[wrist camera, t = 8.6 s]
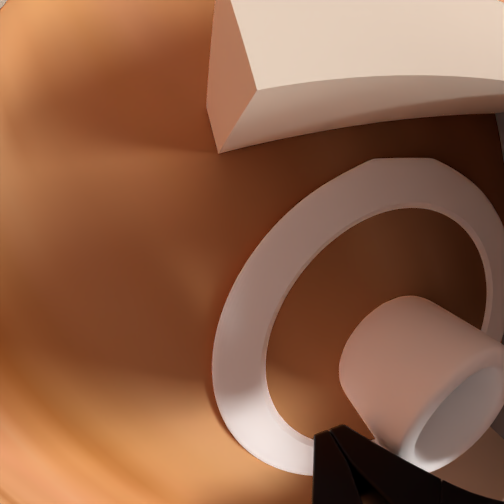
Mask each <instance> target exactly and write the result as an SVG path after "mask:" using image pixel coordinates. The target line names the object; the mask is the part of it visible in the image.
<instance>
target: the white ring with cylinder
mask: <svg viewBox="0 0 504 504" xmlns="http://www.w3.org/2000/svg"><path fill="white" fill-rule="evenodd" d="M402 208H423V209H429V210H433V211H436V212H439V213H441V214H444V215H446V216H448V217H449V218H451V219H453V220H454V221H455V222H457V223H458V224H459V225H460V226H461V227H462V228H463V229H464V230H465V231H466V232H467V233H468V234H469V236H470V237H471V238H472V240H473V242H474V243H475V245H476V247H477V249H478V251H479V253H480V256H481V259H482V262H483V266H484V270H485V276H486V286H487V298H486V309H485V315H484V320H483V325H482V328H481V330H479V329H477V328H476V327H474V326H472V325H471V324H469V323H467V322H466V321H464V320H462V319H461V318H459V317H457V316H456V315H454V314H452V313H450V312H449V311H447V310H445V309H444V308H442V307H440V306H439V305H437V304H435V303H433V302H432V301H430V300H428V299H425V298H423V297H419V296H401V297H397V298H394V299H392V300H389V301H387V302H385V303H383V304H381V305H380V306H378V307H377V308H376V309H374V310H373V311H372V312H371V313H369V314H368V315H367V316H366V317H365V318H364V319H363V320H362V321H361V322H360V323H359V324H358V326H357V327H356V328H355V330H354V331H353V333H352V334H351V335H350V337H349V339H348V340H347V342H346V344H345V347H344V349H343V352H342V355H341V358H340V362H339V379H340V383H341V386H342V388H343V391H344V392H345V394H346V396H347V397H348V399H349V400H350V402H351V403H352V405H353V406H354V408H355V409H356V411H357V412H358V414H359V415H360V417H361V418H362V420H363V421H364V422H365V424H366V425H367V427H368V428H369V430H370V431H371V433H372V434H373V436H374V437H375V439H374V440H371V441H373V442H374V443H376V444H378V445H379V446H381V447H383V448H385V449H386V450H388V451H390V452H392V453H393V454H395V455H397V456H399V457H401V458H402V459H404V460H406V461H408V462H410V463H412V464H414V465H415V466H417V467H419V468H421V469H423V470H425V471H427V472H432V471H435V470H437V469H439V468H441V467H443V466H445V465H447V464H449V463H450V462H452V461H453V460H455V459H456V458H458V457H459V456H460V455H462V454H463V453H464V452H465V451H467V450H468V449H469V448H470V447H471V446H472V445H473V444H474V443H475V442H476V441H477V440H478V439H479V438H480V437H481V436H482V435H483V434H484V433H485V432H486V430H487V429H488V428H489V427H490V425H491V424H492V423H493V421H494V420H495V418H496V417H497V415H498V414H499V412H500V410H501V409H502V407H503V405H504V345H503V344H501V343H500V342H501V339H502V337H503V334H504V227H503V225H502V222H501V220H500V218H499V216H498V214H497V212H496V210H495V209H494V207H493V205H492V204H491V202H490V201H489V200H488V198H487V197H486V196H485V194H484V193H483V192H482V191H481V190H480V189H479V188H478V187H477V186H476V185H475V184H474V183H473V182H471V181H470V180H469V179H468V178H466V177H465V176H464V175H462V174H461V173H459V172H458V171H456V170H454V169H453V168H451V167H449V166H447V165H445V164H444V163H442V162H440V161H438V160H436V159H433V158H377V159H372V160H369V161H367V162H365V163H363V164H360V165H358V166H356V167H354V168H352V169H350V170H348V171H347V172H345V173H343V174H341V175H339V176H337V177H336V178H334V179H332V180H331V181H329V182H327V183H326V184H324V185H322V186H321V187H319V188H318V189H316V190H315V191H314V192H312V193H311V194H309V195H308V196H307V197H305V198H304V199H303V200H302V201H300V202H299V203H298V204H297V205H295V206H294V207H293V208H292V209H291V210H290V211H289V212H288V213H287V214H286V215H284V216H283V217H282V218H281V219H280V220H279V221H278V222H277V224H276V225H275V226H274V227H273V228H272V229H271V230H270V231H269V232H268V233H267V235H266V236H265V237H264V238H263V240H262V241H261V242H260V243H259V245H258V246H257V247H256V249H255V250H254V251H253V253H252V254H251V256H250V257H249V259H248V260H247V262H246V263H245V265H244V266H243V268H242V270H241V272H240V273H239V275H238V277H237V279H236V281H235V283H234V284H233V286H232V288H231V291H230V293H229V295H228V297H227V300H226V302H225V305H224V307H223V310H222V313H221V316H220V319H219V323H218V326H217V331H216V335H215V340H214V346H213V355H212V380H213V388H214V394H215V398H216V402H217V405H218V408H219V411H220V413H221V416H222V418H223V420H224V422H225V424H226V426H227V427H228V429H229V431H230V432H231V433H232V435H233V436H234V437H235V439H236V440H237V441H238V442H239V443H240V444H241V445H242V446H243V447H244V448H245V449H246V450H247V451H248V452H250V453H251V454H252V455H254V456H255V457H256V458H258V459H260V460H261V461H263V462H265V463H267V464H269V465H271V466H273V467H275V468H278V469H281V470H284V471H287V472H291V473H296V474H301V475H309V476H313V449H314V440H313V439H311V438H308V437H306V436H304V435H302V434H300V433H299V432H297V431H296V430H294V429H293V428H292V427H290V426H289V425H288V424H287V423H286V422H285V421H284V420H283V418H282V417H281V416H280V415H279V413H278V412H277V410H276V408H275V406H274V404H273V402H272V400H271V397H270V394H269V391H268V386H267V380H266V354H267V347H268V342H269V338H270V334H271V330H272V327H273V324H274V322H275V319H276V316H277V314H278V312H279V310H280V307H281V305H282V303H283V301H284V299H285V298H286V296H287V294H288V292H289V291H290V289H291V287H292V286H293V284H294V283H295V281H296V280H297V279H298V277H299V276H300V274H301V273H302V272H303V271H304V269H305V268H306V267H307V266H308V264H309V263H310V262H311V261H312V260H313V259H314V258H315V257H316V256H317V255H318V254H319V253H320V252H321V251H322V250H323V249H324V248H325V247H326V246H327V245H328V244H329V243H331V242H332V241H333V240H334V239H335V238H337V237H338V236H339V235H341V234H342V233H343V232H345V231H346V230H348V229H349V228H351V227H353V226H354V225H356V224H358V223H360V222H361V221H363V220H365V219H368V218H370V217H372V216H375V215H377V214H380V213H383V212H387V211H391V210H395V209H402Z"/></svg>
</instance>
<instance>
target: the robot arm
mask: <svg viewBox="0 0 504 504" xmlns="http://www.w3.org/2000/svg"><path fill="white" fill-rule="evenodd" d="M311 504H504V501H500V500H496V499H492V498H488V497H485V496H482V495H478V494H475V493H472V492H469V491H467V490H465V489H462V488H460V487H458V486H455V485H453V484H451V483H449V482H447V481H445V480H442V481H441V478H439V477H437V476H435V475H433V474H431V473H429V472H427V471H425V470H423V469H421V468H419V467H417V466H415V465H414V464H412V463H410V462H408V461H406V460H404V459H402V458H401V457H399V456H397V455H395V454H393V453H392V452H390V451H388V450H386V449H385V448H383V447H381V446H379V445H378V444H376V443H374V442H373V441H371V440H369V439H367V438H366V437H364V436H362V435H361V434H359V433H357V432H356V431H354V430H352V429H351V428H349V427H348V426H346V425H343V424H342V425H339V426H336V427H334V428H331V429H330V430H329V431H328V430H326V431H323V432H320V433H317V434H315V435H314V449H313V481H312V503H311Z"/></svg>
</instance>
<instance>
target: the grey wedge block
mask: <svg viewBox="0 0 504 504" xmlns="http://www.w3.org/2000/svg"><path fill="white" fill-rule="evenodd" d="M206 108H207V112H208V116H209V120H210V124H211V128H212V132H213V135H214V139H215V143H216V147H217V151H218V154H219V153H223V152H227V151H231V150H235V149H239V148H243V147H248V146H252V145H256V144H261V143H265V142H270V141H274V140H279V139H284V138H289V137H294V136H299V135H304V134H309V133H315V132H320V131H326V130H332V129H338V128H344V127H350V126H357V125H364V124H371V123H378V122H386V121H394V120H403V119H413V118H423V117H434V116H448V115H464V114H488V113H495V116H496V121H497V126H498V131H499V136H500V142H501V148H502V154H503V161H504V3H503V2H500V1H498V0H215V7H214V16H213V26H212V37H211V48H210V60H209V72H208V86H207V101H206ZM501 344H503V345H504V334H503V337H502V341H501ZM429 473H431V474H433V475H435V476H437V477H439V478H441V481H442V480H445V481H447V482H449V483H451V484H453V485H455V486H458V487H460V488H462V489H465V490H467V491H469V492H472V493H475V494H478V495H482V496H485V497H488V498H492V499H496V500H500V501H504V405H503V407H502V409H501V410H500V412H499V414H498V415H497V417H496V418H495V420H494V421H493V423H492V424H491V425H490V427H489V428H488V429H487V430H486V432H485V433H484V434H483V435H482V436H481V437H480V438H479V439H478V440H477V441H476V442H475V443H474V444H473V445H472V446H471V447H470V448H469V449H468V450H467V451H465V452H464V453H463V454H462V455H460V456H459V457H458V458H456V459H455V460H453V461H452V462H450V463H449V464H447V465H445V466H443V467H441V468H439V469H437V470H435V471H432V472H429Z"/></svg>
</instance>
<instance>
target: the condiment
mask: <svg viewBox="0 0 504 504" xmlns="http://www.w3.org/2000/svg"><path fill="white" fill-rule="evenodd" d="M6 1H7V0H0V8H1V7H2V6H3V5H4V4H5V3H6Z"/></svg>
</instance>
